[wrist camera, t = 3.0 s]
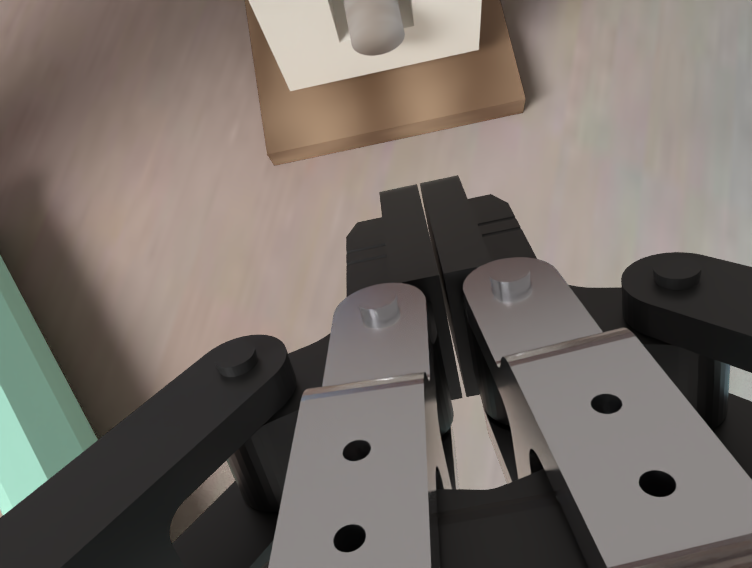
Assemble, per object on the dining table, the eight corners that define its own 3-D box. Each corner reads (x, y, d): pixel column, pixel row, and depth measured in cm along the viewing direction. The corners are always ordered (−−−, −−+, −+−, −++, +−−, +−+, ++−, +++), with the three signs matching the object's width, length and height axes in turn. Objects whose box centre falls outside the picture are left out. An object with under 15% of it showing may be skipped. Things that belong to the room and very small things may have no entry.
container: (232, 610, 32) (9, 201, 38) (141, 677, 27) (-102, 189, 33) (154, 662, 34) (-46, 266, 40) (55, 735, 29) (-159, 264, 35)
